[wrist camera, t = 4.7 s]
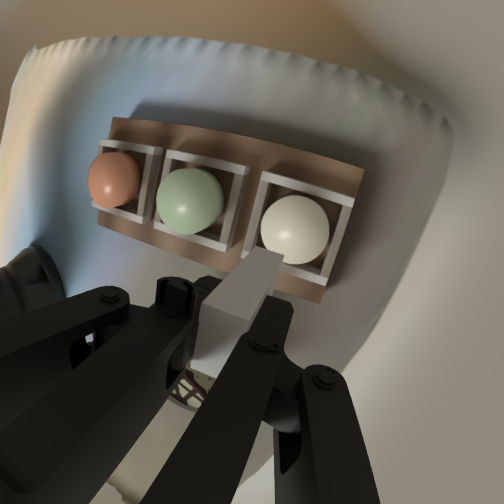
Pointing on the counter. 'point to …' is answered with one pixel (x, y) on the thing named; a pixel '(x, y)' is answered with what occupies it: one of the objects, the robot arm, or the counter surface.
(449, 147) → the counter surface
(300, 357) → the counter surface
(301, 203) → the cream button
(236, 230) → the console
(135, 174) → the terracotta button
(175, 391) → the food container
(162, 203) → the sage button
